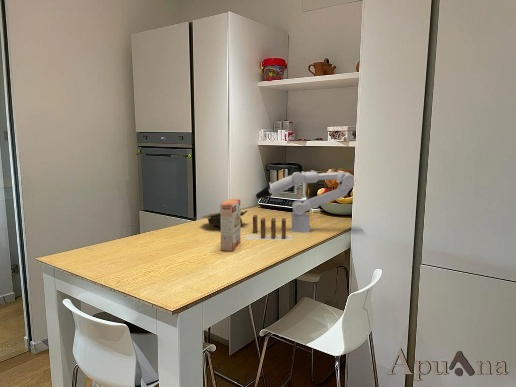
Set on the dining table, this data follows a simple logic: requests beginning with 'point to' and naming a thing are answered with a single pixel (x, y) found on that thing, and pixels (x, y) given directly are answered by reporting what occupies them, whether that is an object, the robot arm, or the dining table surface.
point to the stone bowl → (218, 218)
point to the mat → (267, 237)
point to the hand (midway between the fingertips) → (257, 196)
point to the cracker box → (230, 224)
